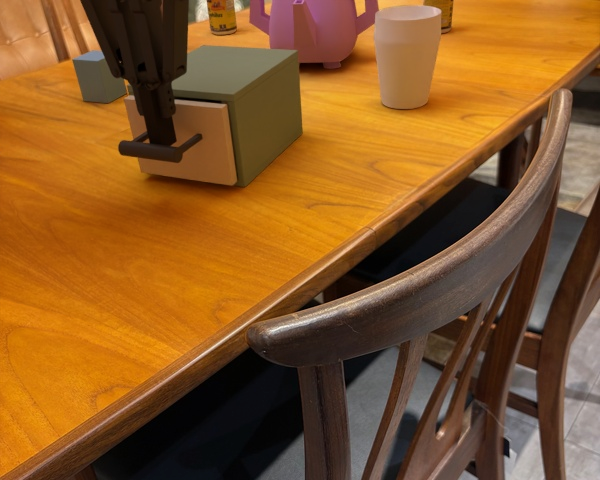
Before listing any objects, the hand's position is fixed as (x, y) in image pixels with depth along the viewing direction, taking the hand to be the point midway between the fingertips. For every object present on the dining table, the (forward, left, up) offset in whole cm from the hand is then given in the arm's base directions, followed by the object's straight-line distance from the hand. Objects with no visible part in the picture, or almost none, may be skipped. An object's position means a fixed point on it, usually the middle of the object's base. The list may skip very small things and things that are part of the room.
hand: (164, 145), depth 65 cm
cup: (+16, +36, -6) cm, 40 cm away
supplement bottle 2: (+11, +76, -6) cm, 77 cm away
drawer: (0, +8, -5) cm, 9 cm away
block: (-31, +27, -6) cm, 41 cm away
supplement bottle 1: (-32, +68, -6) cm, 75 cm away
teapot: (-5, +53, -6) cm, 53 cm away
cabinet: (0, +13, -6) cm, 14 cm away
